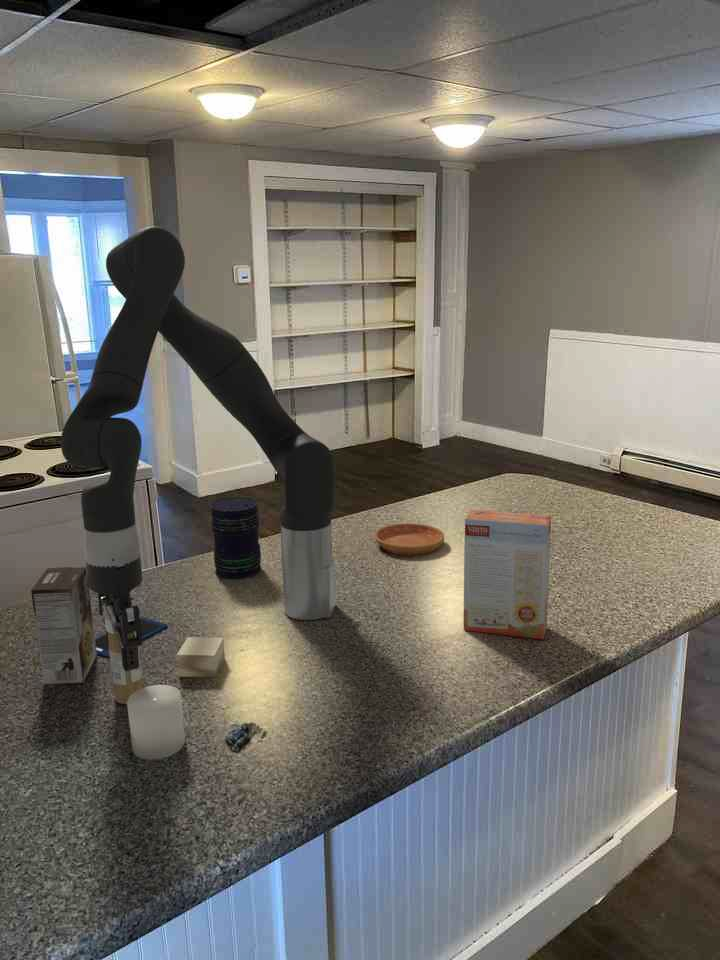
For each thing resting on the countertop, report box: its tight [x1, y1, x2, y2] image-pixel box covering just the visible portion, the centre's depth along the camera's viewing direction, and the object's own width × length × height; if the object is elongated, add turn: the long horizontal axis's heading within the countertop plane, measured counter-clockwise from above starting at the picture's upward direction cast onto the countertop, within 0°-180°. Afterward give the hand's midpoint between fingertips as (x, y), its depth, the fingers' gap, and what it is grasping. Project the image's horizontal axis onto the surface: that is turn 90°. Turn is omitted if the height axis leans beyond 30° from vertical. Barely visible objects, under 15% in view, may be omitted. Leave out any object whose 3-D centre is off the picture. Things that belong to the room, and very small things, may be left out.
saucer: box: [374, 523, 445, 556], centre depth 180 cm, size 16×16×3 cm
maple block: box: [176, 636, 226, 678], centre depth 126 cm, size 6×6×4 cm
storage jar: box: [210, 496, 262, 581], centre depth 165 cm, size 10×10×15 cm
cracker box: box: [463, 509, 552, 640], centre depth 135 cm, size 14×6×21 cm, turn 71°
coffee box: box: [30, 566, 98, 685], centre depth 125 cm, size 9×6×16 cm
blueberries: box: [219, 722, 268, 753], centre depth 107 cm, size 7×8×2 cm
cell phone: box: [95, 616, 168, 659], centre depth 138 cm, size 7×14×1 cm, turn 148°
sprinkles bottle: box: [104, 615, 144, 705], centre depth 117 cm, size 5×5×13 cm
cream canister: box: [126, 684, 186, 761], centre depth 106 cm, size 7×7×7 cm
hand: (123, 656), depth 117 cm, fingers open, 8 cm apart
